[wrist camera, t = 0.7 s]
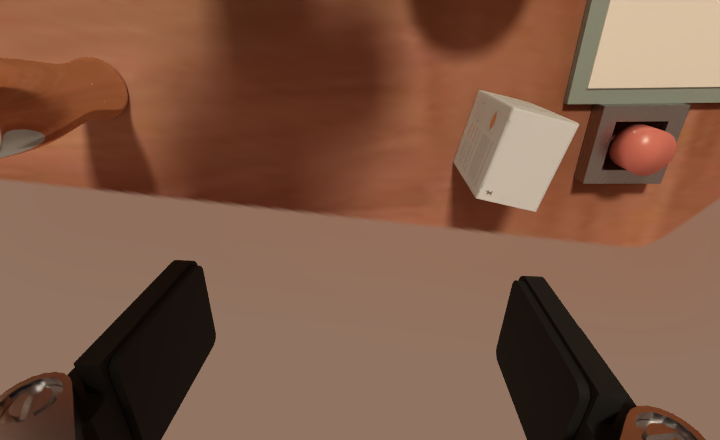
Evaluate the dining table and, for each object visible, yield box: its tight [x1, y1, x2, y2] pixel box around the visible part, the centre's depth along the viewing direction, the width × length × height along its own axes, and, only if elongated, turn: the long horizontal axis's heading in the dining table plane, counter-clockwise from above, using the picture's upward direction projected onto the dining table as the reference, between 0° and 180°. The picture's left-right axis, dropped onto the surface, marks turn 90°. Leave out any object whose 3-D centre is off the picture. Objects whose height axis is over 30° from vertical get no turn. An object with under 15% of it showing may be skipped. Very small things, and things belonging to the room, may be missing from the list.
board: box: [564, 0, 720, 104], centre depth 32 cm, size 16×20×1 cm
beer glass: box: [0, 57, 128, 158], centre depth 31 cm, size 7×7×15 cm
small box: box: [453, 90, 579, 212], centre depth 34 cm, size 8×6×10 cm
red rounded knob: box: [609, 124, 676, 176], centre depth 35 cm, size 4×4×3 cm
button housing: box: [574, 103, 691, 184], centre depth 37 cm, size 8×8×2 cm
